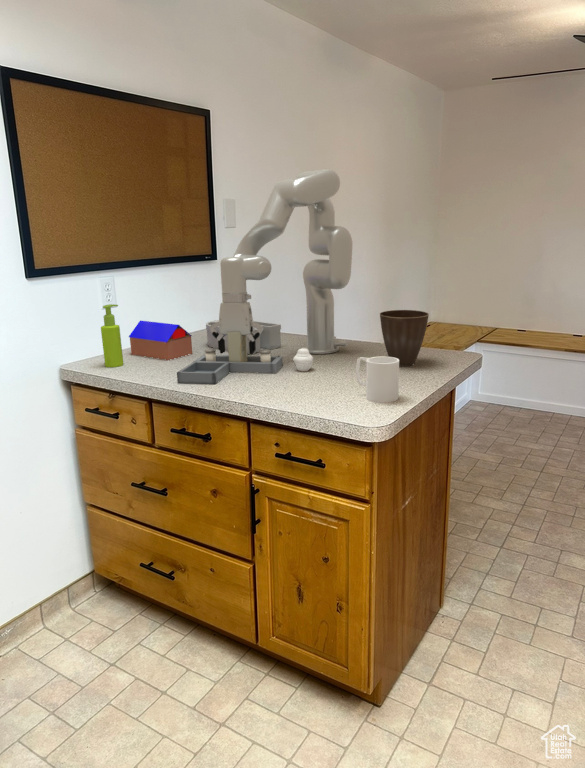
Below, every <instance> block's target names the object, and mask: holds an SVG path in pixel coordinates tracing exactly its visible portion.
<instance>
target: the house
mask: <svg viewBox="0 0 585 768" xmlns="http://www.w3.org/2000/svg"><path fill="white" fill-rule="evenodd" d="M192 337H193V335H191V333H189V332H188V331H187V330H186V329H184V327H182V326H181V325H180V324H175V323H174V324H173V323H167V322H166V323H165V322H158V321H147V320H139V321H138V323H137V324H136V326H135V327H134V328H133V330H132V331H131V332H130V334H129V336H128V338H129V343H130V354H131V356H132V355H133V356H138V355H139V356H140V357H144V356H146V357H145V358H150V357H153V358H152V359H156V358H159V359H158V360H162V359H166V360H165V361H168V360H169V361H171V360H170V359H172V360H175V359H174V358H176V359H179V358H178V357H180V358H182V357H181V356H184V357H186V356H185V355H187V356H189V355H188V354H191V355H193V345H192V343H193V342H192ZM139 356H138V357H139Z"/></svg>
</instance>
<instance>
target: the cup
mask: <svg viewBox="0 0 585 768" xmlns="http://www.w3.org/2000/svg"><path fill="white" fill-rule="evenodd" d="M361 361H363V362H366V379H365V380H366V381H364V380H363V381H361V376H360V375H361V374H360V366H361ZM355 376H356V381H357V383H358V385H359V386H363V387H365V388H366V391H365V392H366V396H365V397H366V400H368V401H370V402H374V403H384V404H385V403H386V402H387V403H393V402H396V401H398V400H399V393H400V392H399V391H400V390H399V389H400V386H399V385H400V383H399V382H400V366H399V359H397V358H394V357H388V356H380V355H379V356H372V357H363V356H360V357H358V358H357V360H356V365H355Z"/></svg>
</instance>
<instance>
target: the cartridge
mask: <svg viewBox="0 0 585 768" xmlns="http://www.w3.org/2000/svg"><path fill="white" fill-rule="evenodd" d="M271 350H272V349H271ZM271 350H270V349H264V348H262V349H260V352H259V356H260V360H261V362H269V363H271V355H272V354H271V353H272V351H271Z"/></svg>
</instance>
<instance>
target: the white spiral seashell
mask: <svg viewBox="0 0 585 768" xmlns="http://www.w3.org/2000/svg"><path fill="white" fill-rule="evenodd" d="M296 352H297V353H296V355H294V357H293V358H292V359H293V362H294V365H295V367H296V368H297V369H296V370H298V371H299V372H307V371H310V369H311V366H312V364H313V362H314V357H313V356H312V355H311V353H309V350H308V349H305V348H303V347H302V348H299V349H298V350H297V351H296Z"/></svg>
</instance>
